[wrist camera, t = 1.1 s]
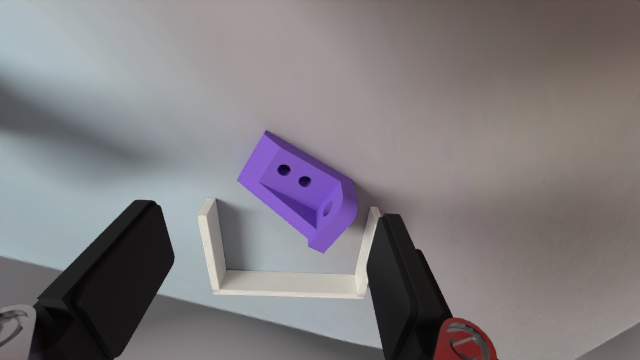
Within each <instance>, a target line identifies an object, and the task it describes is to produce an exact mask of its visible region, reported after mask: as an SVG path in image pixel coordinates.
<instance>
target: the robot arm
mask: <svg viewBox="0 0 640 360" xmlns="http://www.w3.org/2000/svg"><path fill="white" fill-rule="evenodd" d="M174 258H175V256H174V252H173V248H172V245H171V241H170V238H169V234H168V231H167V227H166V223H165V220H164V216H163V213H162V209H161V206H160V205H157V204H156V202H155V201H152V200H135V201H133V202H132V203H131V204H130V205H129V206H128V207H127V208H126V209H125V210H124V211H123V212H122V213H121V214H120V215H119V216H118V217H117V218H116V219H115V220H114V221H113V222H112V223H111V224H110V225H109V226H108V227H107V228H106V229H105V230H104V231H103V232H102V233H101V234H100V235H99V236H98V237H97V238H96V239H95V240H94V241H93V242H92V243H91V244H90V245H89V246H88V247H87V248H86V249H85V250H84V251H83V252H82V253H81V254H80V255H79V257H78V258H77V259H76V260H75V261H74V262H73V263H72V264H71V265H70V266H69V267H68V268H67V269H66V270H65V271H64V272H63V273H62V274H61V275H60V276H59V277H58V278H57V279H56V280H55V281H54V282H53V283H52V284H51V285H50V286H49V287H48V288H47V289H46V290H45V291H44V292H43V293H42V294H41V295H40V296H39V297H38V298H37V299H38V300H39V301H38V302H37V303H36V304H35V305H34V306H33V307H32V306H28V305H25V304H24V305H13V306H9V307H5V308H2V309H0V360H114V358H115V357H118V356H120V355H121V354H122V352H123V351H124V349H125V347H126V345H127V344H128V342H129V340H130V339H131V337H132V335H133V333H134V331H135V330H136V328H137V326H138V325H139V323H140V321H141V319H142V318H143V316H144V314H145V312H146V311H147V309H148V307H149V305H150V304H151V302H152V300H153V298H154V297H155V295H156V293H157V292H158V290H159V288H160V286H161V285H162V283H163V281H164V279H165V278H166V276H167V274H168V272H169V271H170V269H171V267H172V265H173V263H174ZM366 272H367V277H368V282H369V287H370V291H371V296H372V301H373V305H374V310H375V315H376V319H377V324H378V329H379V333H380V338H381V343H382V348H383V352H384V357H385V360H498V359H497V355H496V350H495V348H494V345H493V343H492V341H491V340H490V339H489V337H488V336H487V335H486V333H484V332H483V331H482V330H481V329H480V328H479V327H478V326H476V325H475V324H473V323H472V322H470V321H467V320H465V319H462V318H456V317H454V318H453V316H452V314H451V312H450V309H449V307H448V305H447V303H446V301H445V299H444V297H443V295H442V293H441V291H440V288H439V286H438V284H437V282H436V280H435V278H434V276H433V274H432V272H431V269H430V267H429V265H428V263H427V261H426V259H425V257H424V255H423V253H422V251H421V250H419V249H415V247H414V244H413V242H412V240H411V238H410V236H409V233H408V231H407V229H406V227H405V225H404V222H403V220H402V218H401V216H400V215H399V214H386V213H385V214H384V215H383V217H379V218H378V222H377V225H376V229H375V233H374V237H373V241H372V245H371V248H370V252H369V256H368V260H367V264H366Z"/></svg>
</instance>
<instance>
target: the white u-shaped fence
mask: <svg viewBox="0 0 640 360" xmlns="http://www.w3.org/2000/svg"><path fill="white" fill-rule="evenodd" d="M197 216H198V221H199V226H200V231H201V236H202V241H203V246H204V251H205V256H206V261H207V266H208V271H209V276H210V281H211V286H212V291H213V294H228V295H260V296H292V297H324V298H356V299H364V295H365V292H366V288H367V284H368V277H367V272H366V264H367V260H368V256H369V252H370V248H371V245H372V241H373V237H374V233H375V229H376V225H377V222H378V218H379V217H381V215H380V212H379V209H378V207H371V206H370V210H369V214H368V219H367V223H366V227H365V232H364V236H363V241H362V245H361V249H360V254H359V258H358V263H357V267H356V272H355V275H350V274H323V273H296V272H269V271H242V270H226V264H225V258H224V251H223V244H222V237H221V231H220V224H219V217H218V210H217V203H216V198H207V200H206V201H205V203H204V205H203V206H202V208H201V210H200V211H199V213H198V215H197Z"/></svg>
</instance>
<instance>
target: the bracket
mask: <svg viewBox="0 0 640 360" xmlns="http://www.w3.org/2000/svg"><path fill="white" fill-rule="evenodd" d="M282 164H285V165H288V166H289V167H290V169H282V168H280V167H279V166H280V165H282ZM302 176H307V177H309V178H310V179H308V180H303V179H301V178H300V177H302ZM237 181H238V182H240V183H241V184H242V185H243V186H245V187H246V188H247V189H248V190H249V191H251V192H252V193H253V194H254V195H255V196H257V197H258V198H259V199H260V200H262V201H263V202H264V203H265V204H266V205H268V206H269V207H270V208H271V209H272V210H274V211H275V212H276V213H277V214H279V215H280V216H281V217H282V218H283V219H285V220H286V221H287V222H288V223H289V224H291V225H292V226H293V227H294V228H296V229H297V230H298V231H299V232H300V233H302V234H303V235H304V236H305V237H306V238H308V247H310V248H313V249H315V250H317V251H319V252H321V253H324V252H325V251H326V250H327V249H328V248H329V247H330V246H331V245H332V244H333V243H334V241H335V240H336V239H337V238H338V237H339V236H340V235H341V234H342V233H343V232H344V231H345V230H346V229H347V227H348V226H349V225H350V224H351V223H352V222H353V220H354V219H355V217H356V215H357V212H358V201H357V197H356V193H355V189H354V184H353V180H351V179H349V178H348V177H346V176H344V175H342V174H341V173H339V172H337V171H336V170H334V169H332V168H330V167H329V166H327V165H325V164H323V163H322V162H320V161H318V160H317V159H315V158H313V157H311V156H310V155H308V154H306V153H304V152H303V151H301V150H299V149H298V148H296V147H294V146H292V145H291V144H289V143H287V142H286V141H284V140H282V139H280V138H279V137H277V136H275V135H273V134H272V133H270V132H268V131H267V130H266V131H265V133H264V134H263V136H262V138H261V139H260V141H259V143H258V145H257V146H256V148H255V150H254V151H253V153H252V155H251V157H250V158H249V160H248V162H247V163H246V165H245V167H244V169H243V170H242V172H241V174H240V176H239V178H238V180H237Z"/></svg>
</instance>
